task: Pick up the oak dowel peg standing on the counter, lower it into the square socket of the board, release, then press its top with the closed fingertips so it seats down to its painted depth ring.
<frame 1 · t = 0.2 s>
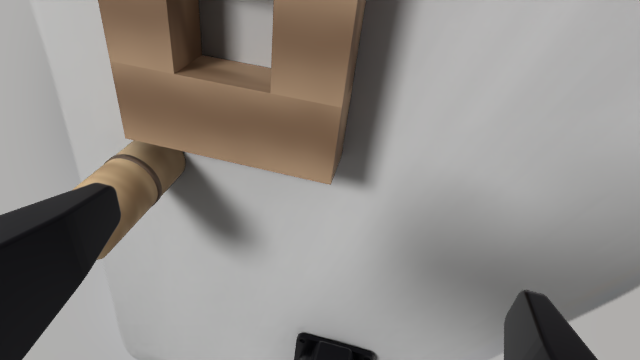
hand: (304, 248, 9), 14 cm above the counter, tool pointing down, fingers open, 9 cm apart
peg: (160, 155, 28), on the counter
board: (244, 15, 21), on the counter
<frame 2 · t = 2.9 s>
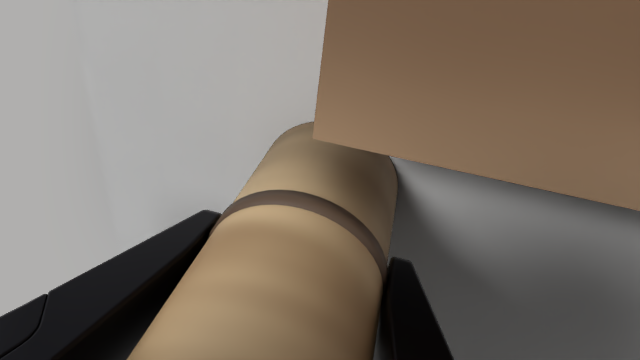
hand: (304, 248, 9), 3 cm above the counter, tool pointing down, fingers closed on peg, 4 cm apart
peg: (329, 183, 11), on the counter, touching gripper
when the fingers open (4 cm above the counter, at t = 6.4 s): peg drops 1 cm, resting in board.
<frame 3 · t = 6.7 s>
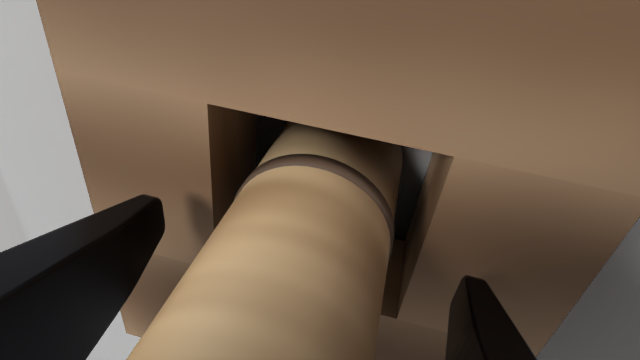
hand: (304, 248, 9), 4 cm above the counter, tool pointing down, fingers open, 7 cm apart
peg: (339, 157, 12), resting in board
board: (338, 158, 12), on the counter
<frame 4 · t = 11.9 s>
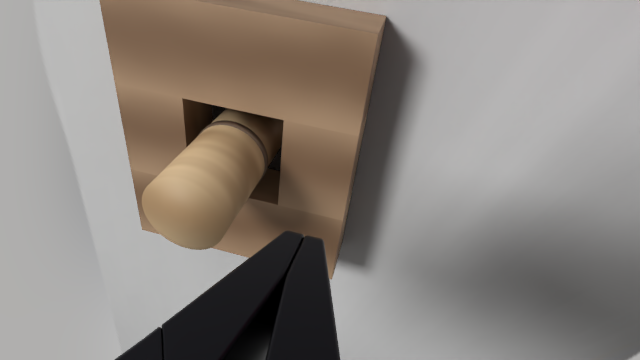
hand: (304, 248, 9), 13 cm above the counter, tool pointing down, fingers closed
peg: (254, 127, 23), resting in board
board: (254, 127, 23), on the counter
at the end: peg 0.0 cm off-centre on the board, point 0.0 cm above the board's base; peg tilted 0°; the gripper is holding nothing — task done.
